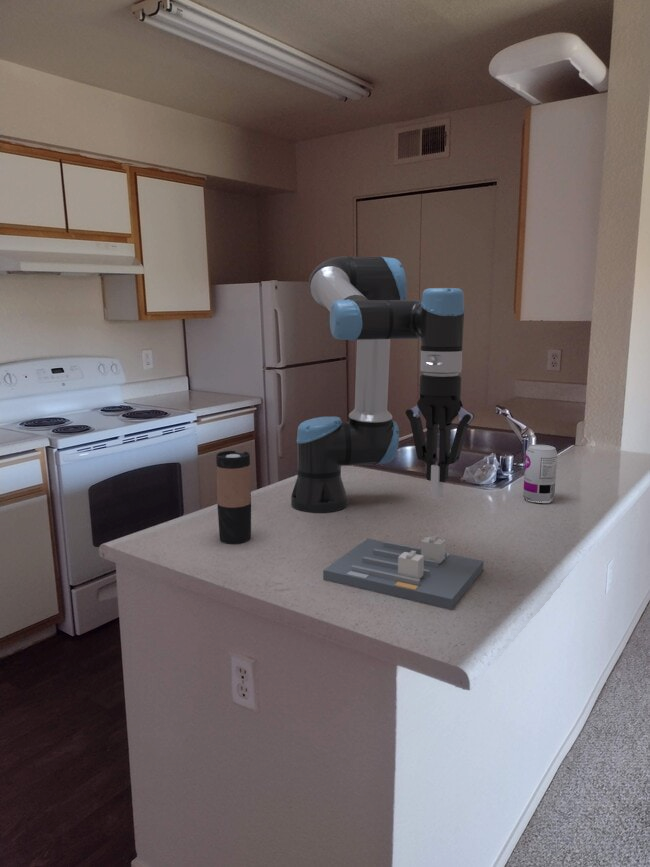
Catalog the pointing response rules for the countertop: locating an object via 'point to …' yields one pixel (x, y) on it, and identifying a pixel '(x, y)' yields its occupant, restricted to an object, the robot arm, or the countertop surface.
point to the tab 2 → (433, 548)
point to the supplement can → (540, 473)
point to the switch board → (379, 573)
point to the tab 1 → (411, 565)
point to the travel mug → (234, 496)
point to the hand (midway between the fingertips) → (436, 497)
